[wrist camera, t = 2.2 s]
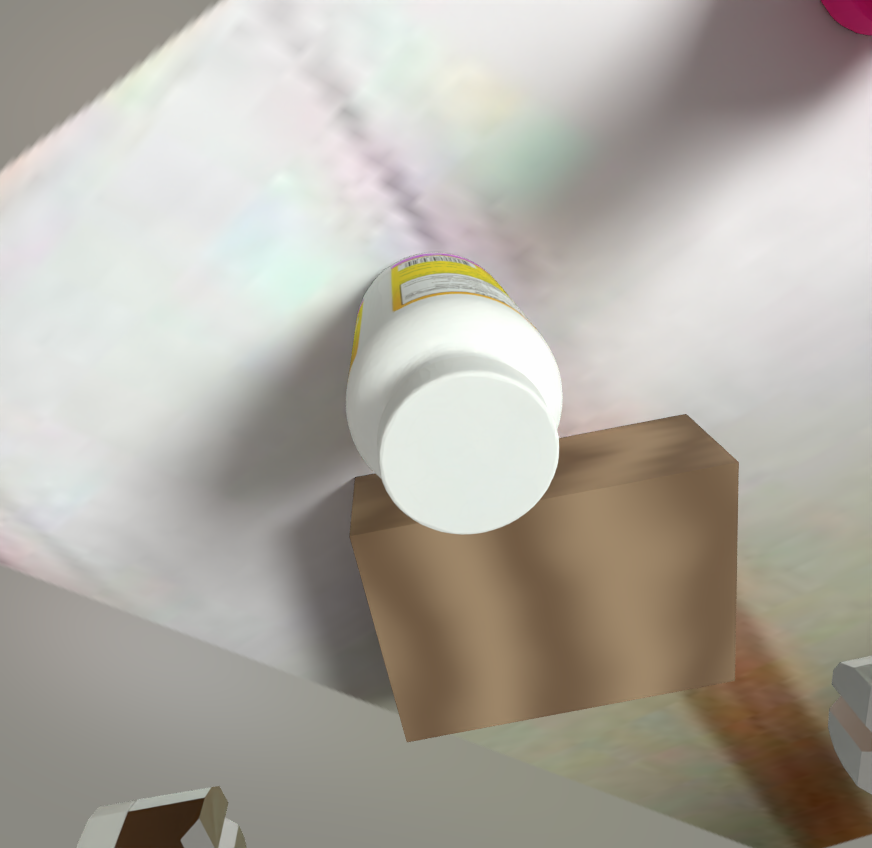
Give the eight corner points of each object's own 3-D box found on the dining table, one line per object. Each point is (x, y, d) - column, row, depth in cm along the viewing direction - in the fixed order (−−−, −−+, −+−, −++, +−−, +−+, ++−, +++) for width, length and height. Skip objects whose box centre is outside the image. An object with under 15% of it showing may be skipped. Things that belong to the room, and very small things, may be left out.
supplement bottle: (430, 425, 30) (457, 609, 18) (324, 325, 28) (279, 461, 16) (540, 327, 28) (648, 459, 17) (438, 213, 26) (480, 272, 15)
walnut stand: (686, 414, 31) (738, 462, 26) (690, 611, 36) (734, 680, 31) (355, 477, 31) (349, 536, 26) (404, 665, 36) (406, 742, 31)
